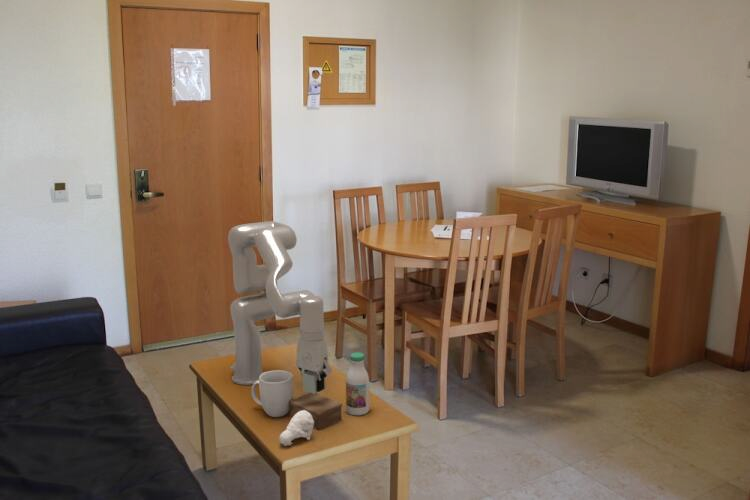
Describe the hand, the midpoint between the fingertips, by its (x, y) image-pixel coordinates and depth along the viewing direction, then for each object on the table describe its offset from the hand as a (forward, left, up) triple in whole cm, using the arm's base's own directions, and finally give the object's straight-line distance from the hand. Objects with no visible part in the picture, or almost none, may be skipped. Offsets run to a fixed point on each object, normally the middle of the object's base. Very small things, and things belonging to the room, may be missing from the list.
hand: (313, 387), depth 234 cm
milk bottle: (+8, +13, -11) cm, 19 cm away
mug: (-14, -4, -11) cm, 18 cm away
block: (0, 0, -1) cm, 1 cm away
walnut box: (0, +1, -11) cm, 11 cm away
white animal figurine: (+5, -15, -11) cm, 19 cm away
